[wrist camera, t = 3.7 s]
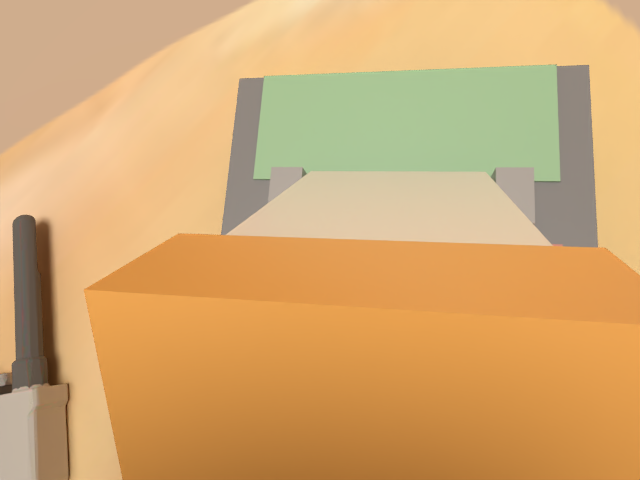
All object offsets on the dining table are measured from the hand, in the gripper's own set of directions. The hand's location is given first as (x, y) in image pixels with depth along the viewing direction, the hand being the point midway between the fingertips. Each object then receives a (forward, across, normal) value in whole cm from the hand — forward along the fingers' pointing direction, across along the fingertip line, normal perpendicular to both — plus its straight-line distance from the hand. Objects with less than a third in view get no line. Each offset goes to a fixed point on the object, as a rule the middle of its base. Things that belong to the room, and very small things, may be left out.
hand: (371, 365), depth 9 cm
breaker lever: (+6, 0, 0) cm, 6 cm away
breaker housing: (+10, 0, +3) cm, 10 cm away
